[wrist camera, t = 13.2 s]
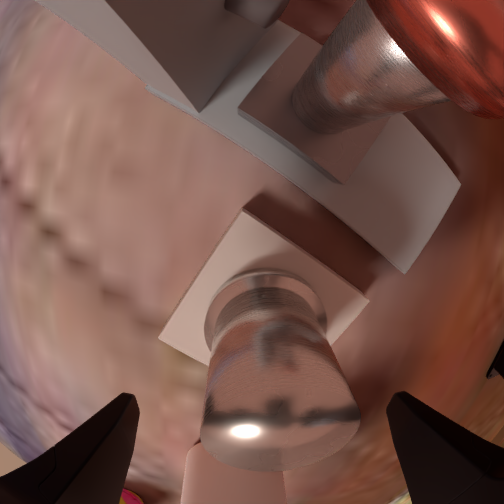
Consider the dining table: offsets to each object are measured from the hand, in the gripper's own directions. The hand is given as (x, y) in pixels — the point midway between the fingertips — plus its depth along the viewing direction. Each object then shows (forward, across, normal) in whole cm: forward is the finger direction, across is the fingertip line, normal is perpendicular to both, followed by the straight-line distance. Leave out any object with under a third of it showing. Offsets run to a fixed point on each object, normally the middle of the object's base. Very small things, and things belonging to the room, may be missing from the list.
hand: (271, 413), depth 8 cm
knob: (+6, 0, 0) cm, 6 cm away
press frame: (+7, 0, -5) cm, 9 cm away
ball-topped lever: (+6, -2, -10) cm, 12 cm away
